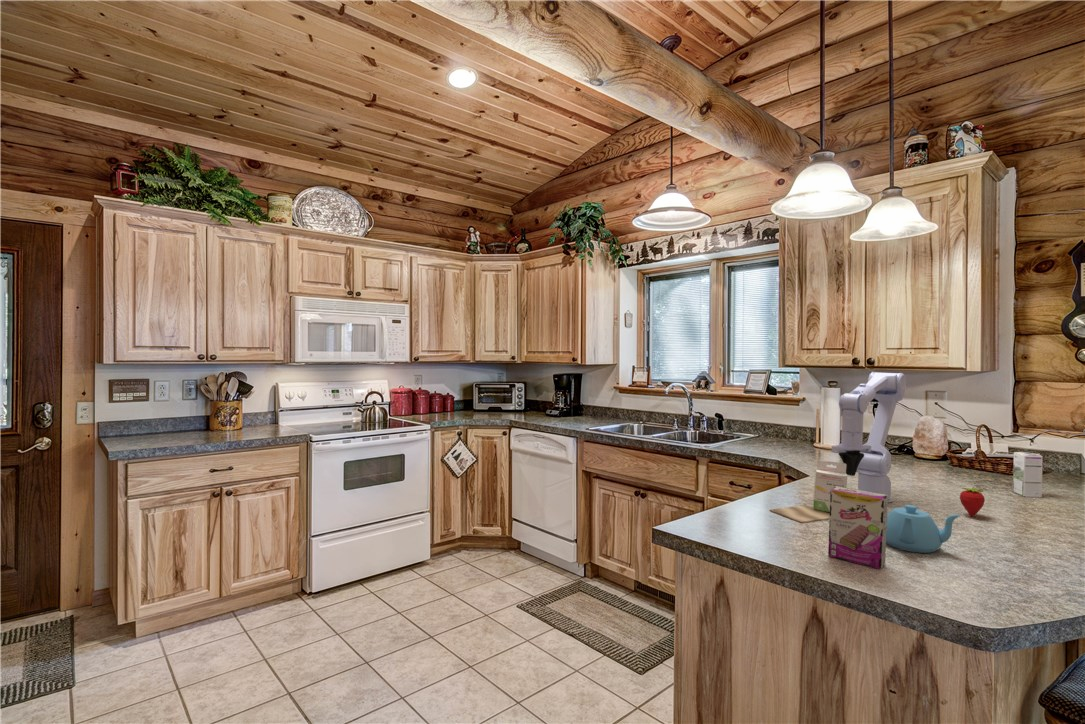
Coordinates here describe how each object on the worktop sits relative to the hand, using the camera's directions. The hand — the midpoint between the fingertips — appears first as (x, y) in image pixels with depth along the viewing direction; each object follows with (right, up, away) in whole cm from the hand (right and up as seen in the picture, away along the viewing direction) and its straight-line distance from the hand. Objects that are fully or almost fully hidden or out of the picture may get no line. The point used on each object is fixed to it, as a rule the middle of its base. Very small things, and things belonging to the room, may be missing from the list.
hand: (850, 475), depth 167 cm
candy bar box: (-23, -12, -42) cm, 49 cm away
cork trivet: (-18, -10, -7) cm, 22 cm away
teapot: (-4, -12, -32) cm, 34 cm away
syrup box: (+71, -11, +18) cm, 74 cm away
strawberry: (+33, -11, -7) cm, 35 cm away
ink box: (-8, -10, -3) cm, 14 cm away
